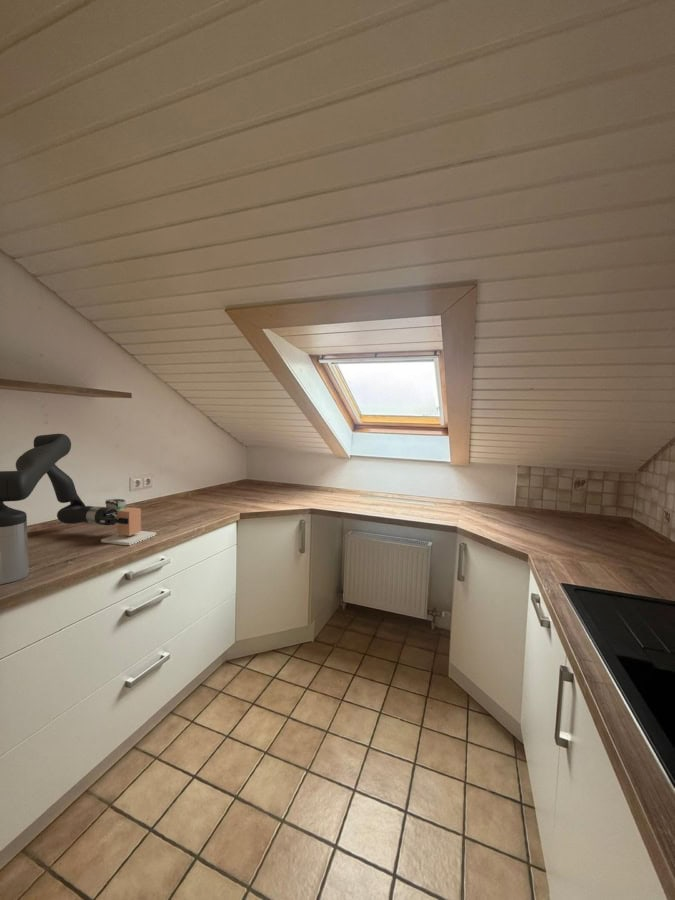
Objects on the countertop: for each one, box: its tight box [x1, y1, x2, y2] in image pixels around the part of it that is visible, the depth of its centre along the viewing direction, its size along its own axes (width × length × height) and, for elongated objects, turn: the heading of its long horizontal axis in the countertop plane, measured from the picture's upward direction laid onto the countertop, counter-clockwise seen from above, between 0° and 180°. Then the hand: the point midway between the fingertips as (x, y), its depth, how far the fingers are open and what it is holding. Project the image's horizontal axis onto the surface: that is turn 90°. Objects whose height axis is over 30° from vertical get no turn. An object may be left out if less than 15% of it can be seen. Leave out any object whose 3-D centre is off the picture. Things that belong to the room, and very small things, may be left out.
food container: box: [104, 498, 127, 511], centre depth 171 cm, size 12×6×10 cm, turn 59°
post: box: [100, 530, 157, 546], centre depth 144 cm, size 14×14×8 cm
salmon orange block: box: [116, 507, 142, 536], centre depth 144 cm, size 6×6×10 cm
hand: (134, 519), depth 143 cm, fingers closed on salmon orange block, 6 cm apart
